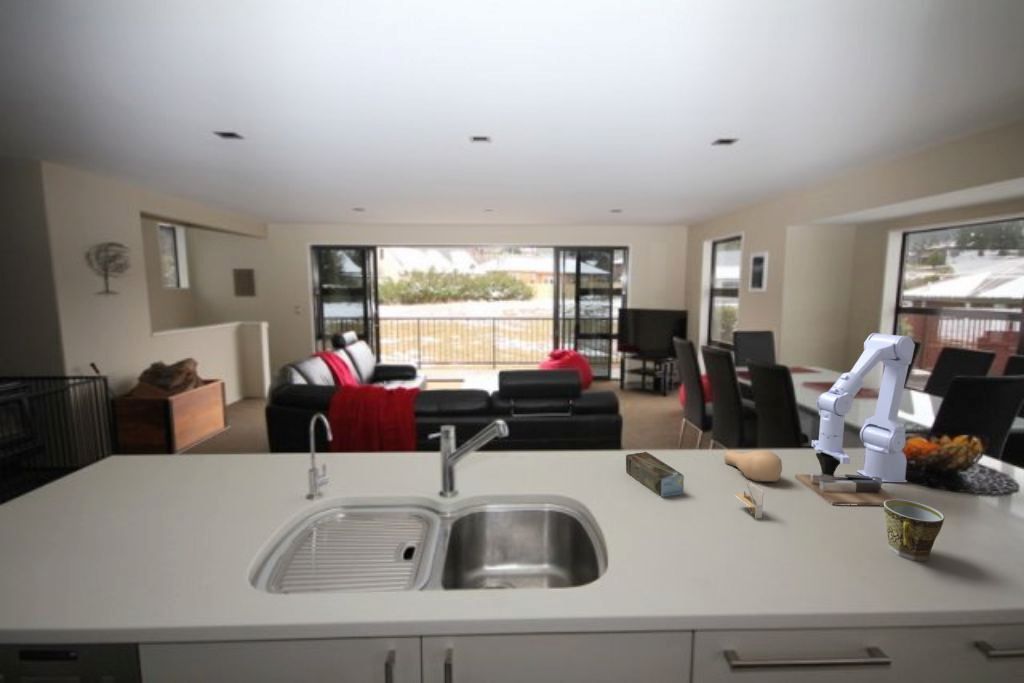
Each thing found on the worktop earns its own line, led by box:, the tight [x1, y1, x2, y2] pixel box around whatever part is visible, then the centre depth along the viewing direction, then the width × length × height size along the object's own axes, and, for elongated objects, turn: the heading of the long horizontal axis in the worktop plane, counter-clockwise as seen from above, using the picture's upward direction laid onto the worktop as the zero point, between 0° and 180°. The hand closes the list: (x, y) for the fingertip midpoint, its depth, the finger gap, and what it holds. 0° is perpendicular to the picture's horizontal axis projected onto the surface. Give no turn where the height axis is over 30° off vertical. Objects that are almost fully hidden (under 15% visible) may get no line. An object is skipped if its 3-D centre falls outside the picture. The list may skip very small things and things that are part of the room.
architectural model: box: [734, 482, 764, 519], centre depth 120 cm, size 3×7×7 cm, turn 5°
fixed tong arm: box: [819, 480, 879, 493], centre depth 129 cm, size 15×2×3 cm, turn 87°
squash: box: [723, 449, 783, 483], centre depth 144 cm, size 11×20×9 cm, turn 17°
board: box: [794, 473, 902, 507], centre depth 131 cm, size 19×18×1 cm
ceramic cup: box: [883, 499, 945, 562], centre depth 100 cm, size 13×10×10 cm
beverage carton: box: [625, 451, 685, 498], centre depth 138 cm, size 8×19×7 cm, turn 17°
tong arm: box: [810, 472, 883, 489], centre depth 132 cm, size 18×2×3 cm, turn 77°
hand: (827, 478), depth 135 cm, fingers closed
